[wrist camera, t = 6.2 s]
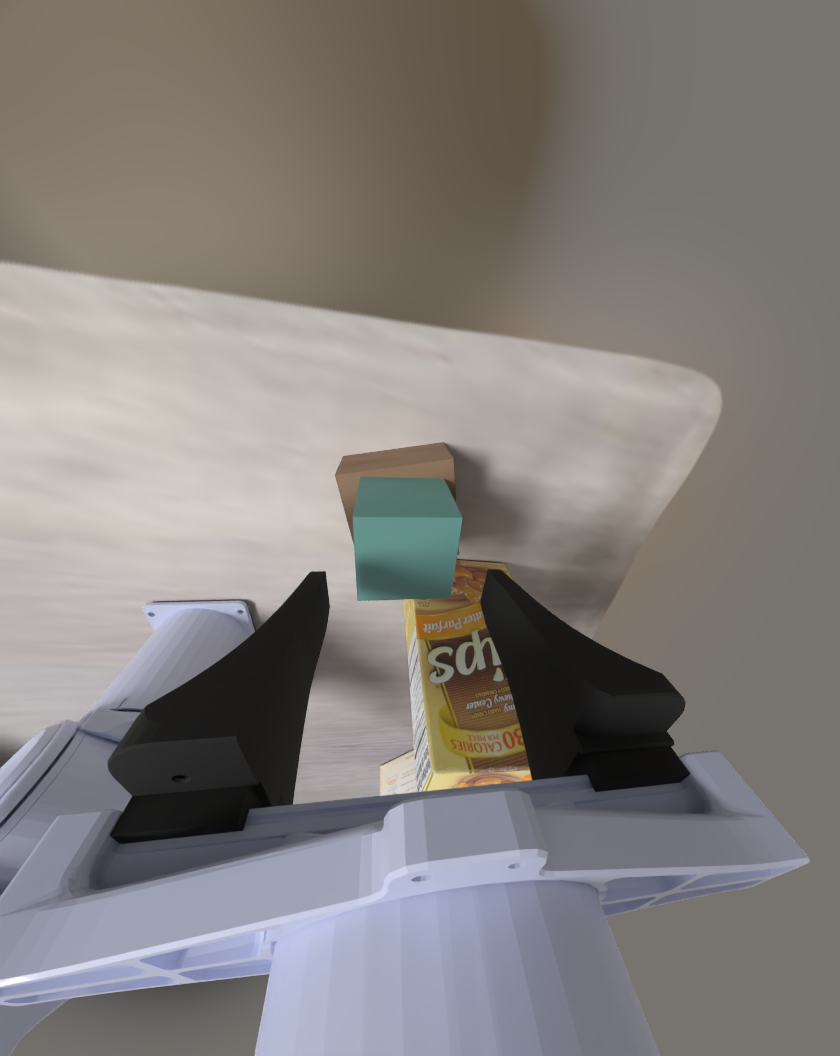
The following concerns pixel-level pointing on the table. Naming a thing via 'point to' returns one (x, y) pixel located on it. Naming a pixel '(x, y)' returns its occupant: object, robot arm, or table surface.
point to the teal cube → (405, 538)
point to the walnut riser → (393, 470)
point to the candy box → (460, 691)
